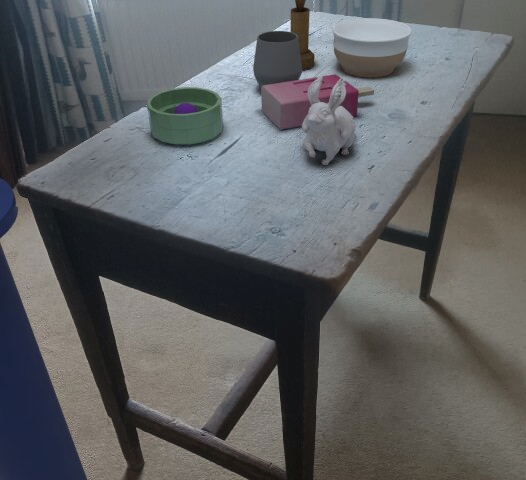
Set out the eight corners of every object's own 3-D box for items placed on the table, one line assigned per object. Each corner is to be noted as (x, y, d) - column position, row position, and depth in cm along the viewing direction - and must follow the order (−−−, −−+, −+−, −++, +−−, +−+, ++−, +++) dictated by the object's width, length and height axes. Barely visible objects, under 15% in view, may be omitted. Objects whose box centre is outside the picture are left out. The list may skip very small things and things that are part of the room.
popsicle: (385, 85, 103) (280, 103, 98) (382, 112, 106) (280, 130, 101) (360, 69, 110) (261, 85, 104) (358, 94, 113) (261, 111, 107)
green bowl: (158, 152, 95) (154, 119, 92) (146, 123, 104) (141, 92, 101) (231, 141, 98) (229, 109, 95) (212, 113, 107) (210, 83, 103)
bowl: (360, 51, 133) (363, 13, 128) (421, 67, 124) (427, 27, 119) (314, 69, 124) (316, 29, 119) (376, 87, 115) (381, 45, 110)
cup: (294, 79, 120) (294, 27, 113) (307, 96, 113) (309, 41, 106) (248, 84, 118) (247, 31, 112) (259, 101, 111) (258, 46, 105)
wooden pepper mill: (290, 72, 123) (292, -24, 112) (278, 63, 128) (278, -31, 116) (319, 67, 125) (323, -28, 113) (306, 58, 130) (309, -34, 118)
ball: (177, 136, 99) (174, 111, 96) (172, 124, 102) (169, 100, 99) (202, 132, 100) (201, 108, 97) (196, 121, 103) (195, 96, 100)
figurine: (288, 166, 91) (289, 84, 83) (320, 128, 101) (323, 52, 93) (338, 175, 88) (344, 92, 80) (365, 135, 99) (373, 58, 91)
